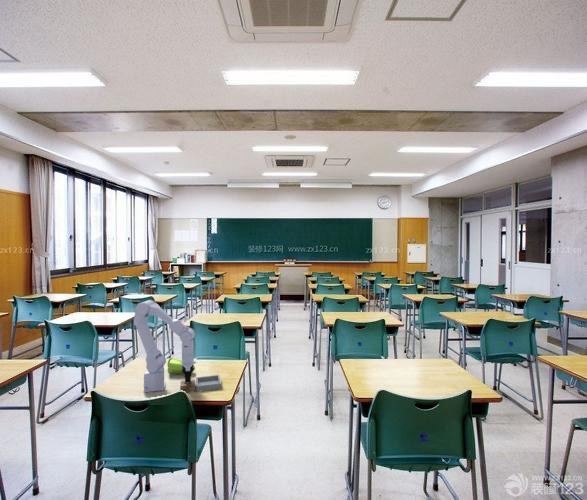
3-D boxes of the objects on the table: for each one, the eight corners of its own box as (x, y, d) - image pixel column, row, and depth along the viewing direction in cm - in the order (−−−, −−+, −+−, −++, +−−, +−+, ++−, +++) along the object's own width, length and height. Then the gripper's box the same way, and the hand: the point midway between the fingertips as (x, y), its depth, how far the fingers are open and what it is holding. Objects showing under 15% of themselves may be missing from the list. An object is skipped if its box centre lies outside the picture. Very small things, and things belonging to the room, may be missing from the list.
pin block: (180, 392, 163) (180, 386, 163) (180, 386, 170) (180, 380, 170) (195, 390, 166) (195, 384, 166) (194, 384, 172) (194, 379, 172)
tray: (196, 391, 164) (196, 386, 164) (195, 382, 176) (195, 377, 176) (221, 388, 168) (221, 383, 168) (219, 379, 179) (219, 374, 179)
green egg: (157, 358, 186) (191, 363, 183) (168, 355, 198) (200, 360, 194) (155, 373, 184) (189, 378, 181) (166, 369, 196) (198, 374, 193)
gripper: (196, 357, 162) (196, 385, 162) (195, 348, 176) (195, 374, 176) (181, 358, 160) (181, 387, 160) (181, 349, 174) (181, 376, 174)
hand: (187, 380), depth 168 cm, fingers open, 3 cm apart
